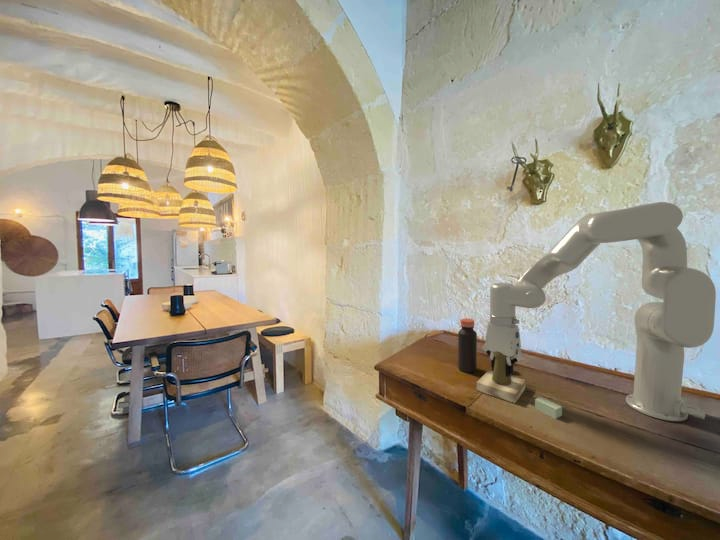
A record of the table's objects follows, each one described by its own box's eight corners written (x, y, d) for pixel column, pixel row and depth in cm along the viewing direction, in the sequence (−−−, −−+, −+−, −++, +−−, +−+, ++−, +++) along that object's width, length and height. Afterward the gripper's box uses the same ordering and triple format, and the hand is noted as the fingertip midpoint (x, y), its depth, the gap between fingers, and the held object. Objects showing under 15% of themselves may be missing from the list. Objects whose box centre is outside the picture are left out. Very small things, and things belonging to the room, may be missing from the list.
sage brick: (561, 416, 82) (562, 406, 82) (555, 419, 81) (555, 409, 81) (540, 405, 88) (541, 396, 87) (534, 408, 86) (534, 399, 86)
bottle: (473, 365, 116) (473, 317, 114) (478, 373, 109) (479, 322, 107) (456, 365, 117) (456, 317, 115) (460, 373, 110) (460, 322, 108)
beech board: (525, 388, 98) (525, 379, 97) (515, 403, 89) (515, 394, 89) (489, 377, 106) (489, 369, 106) (476, 390, 97) (476, 382, 97)
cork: (509, 386, 93) (510, 353, 92) (489, 381, 96) (490, 349, 95) (513, 378, 98) (513, 347, 97) (494, 374, 101) (494, 344, 100)
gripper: (534, 323, 90) (533, 378, 92) (484, 313, 104) (484, 362, 106) (523, 328, 86) (522, 385, 88) (473, 317, 99) (473, 368, 101)
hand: (501, 372), depth 97 cm, fingers closed on cork, 4 cm apart
